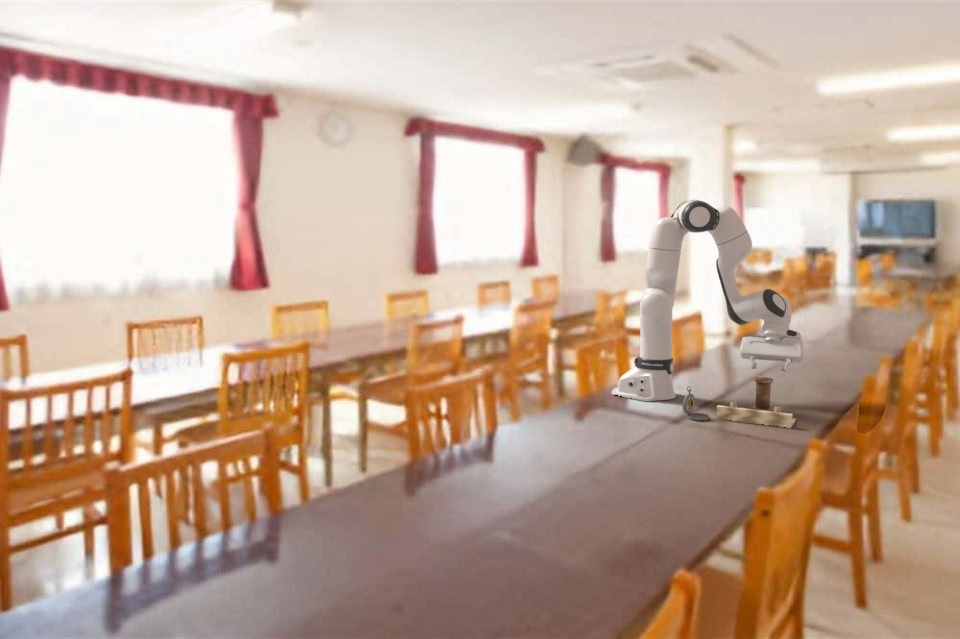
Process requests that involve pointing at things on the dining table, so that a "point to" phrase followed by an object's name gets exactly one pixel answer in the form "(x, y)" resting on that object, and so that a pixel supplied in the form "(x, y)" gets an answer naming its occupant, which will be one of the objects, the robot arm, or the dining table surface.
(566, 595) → the dining table surface
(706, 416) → the pocket watch
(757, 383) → the flanged spool
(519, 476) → the dining table surface
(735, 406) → the peg rack
